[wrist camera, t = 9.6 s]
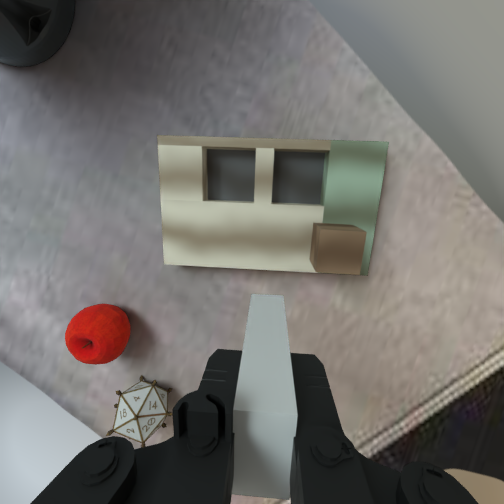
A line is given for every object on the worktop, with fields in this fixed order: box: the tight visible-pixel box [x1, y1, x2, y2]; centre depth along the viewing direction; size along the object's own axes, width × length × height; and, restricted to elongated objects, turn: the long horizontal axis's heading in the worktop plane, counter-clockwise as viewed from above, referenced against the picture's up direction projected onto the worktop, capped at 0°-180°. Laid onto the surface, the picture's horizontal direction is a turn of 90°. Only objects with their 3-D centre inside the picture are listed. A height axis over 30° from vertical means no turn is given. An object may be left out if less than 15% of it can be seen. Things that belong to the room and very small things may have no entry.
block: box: [309, 223, 367, 275], centre depth 29 cm, size 4×4×4 cm
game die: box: [106, 375, 173, 448], centre depth 38 cm, size 9×8×10 cm
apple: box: [65, 304, 130, 364], centre depth 35 cm, size 8×8×7 cm
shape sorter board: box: [157, 135, 389, 276], centre depth 32 cm, size 15×25×3 cm, turn 88°
